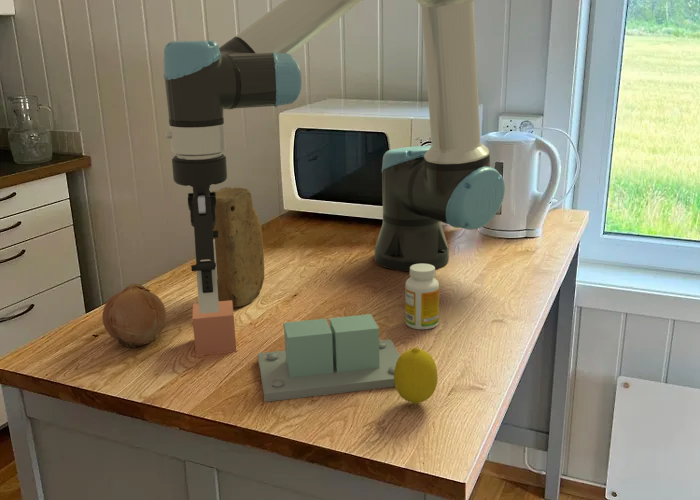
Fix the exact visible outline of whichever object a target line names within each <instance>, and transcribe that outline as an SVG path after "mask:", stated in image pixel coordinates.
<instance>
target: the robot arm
mask: <svg viewBox="0 0 700 500" xmlns="http://www.w3.org/2000/svg"><path fill="white" fill-rule="evenodd" d="M363 1H364V0H283V1H281V3H279V4H277V5H276V6H275V7H274V8H272V9H271V10H270V11H268V12H267V13H265V14H264V15H263V16H261V17H260V18H258V19H257V20H256V21H254V22H253V23H251V24H250V25H249V26H247V27H246V28H245V29H243V30H241V32H239V33H238V34H236V35H235V36H234V37H232V38H231V39H230V40H228V41H226V42H225V43H224V44H222V45H221V46H220V45H219V43H218V42H217V41H214V40H173V41H170V42H168V43H166V44H165V46H164V49H163V80H164V85H165V93H166V102H167V103H166V105H167V113H168V124H169V130H170V131H166V132H165V134H164V135H165V138H166V139H171V141H170V149H171V152H172V154H174V157H173V156H172V158H171V164H172V165H171V166H172V176H173V181H174V183H176V184H177V185H179V186H185V187H187V186H190V187H191V188H192V192H189V193H187V207H188V210H189V213H190V215H189V216H190V224H191V226H192V227H193V231H194V246H195V247H194V248H195V263H196V264H192V265H190V267H191V269H190V270H191V272H195V273H196V281H197V282H196V285H197V293H198V294H197V295H198V303H199V311H200V314H201V313H213V312H219V302H218V287H217V265H216V250H215V239H213V238H218V231H213V229H214V225H215V224H216V219H215V209H216V194H215V192H212V191H211V186H212V185H219V184H222V183H224V182H225V181H226V180H227V179H228V167H227V156H225V154H223V153H224V152H225V151H226V150H227V144H226V131H225V130H226V129H225V120H224V119H225V118H224V111H225V110H233V109H248V108H261V107H274V108H277V107H279V106H286V105H291V104H293V103H294V102H296V101H297V100H298V98H299V97H300V95H301V90H302V71H301V69H300V68H301V67H300V66H299V63H298V61H297V59H296V58H295V57H294V56H293V54H294V53H296V52H297V51H298V50H299V49H300V48H302V47H303V46H305V45H306V44H307V43H308V42H309V41H311V40H312V39H314V38H315V37H316V36H317V35H319V34H320V33H322V32H323V31H324V30H326V29H327V28H328V27H330V26H331V25H332V24H334V23H335V22H336V21H338V20H339V19H340V18H342V17H343V16H345V15H346V14H347V13H348V12H349V11H351V10H352V9H354V8H355V7H356V6H358V5H359V4H360V3H361V2H363ZM415 1H416V2H417V3H419V5H420V7H421V17H422V30H423V31H422V32H423V44H424V46H423V47H424V58H425V72H426V73H425V74H426V84H427V98H428V101H427V102H428V111H429V113H428V114H429V125H430V127H429V128H430V140H431V141H430V142H431V145H419V146H418V145H417V146H407V147H406V146H405V147H398V148H393V149H389V150H387V151H385V153H384V154H383V157H382V166H381V171H380V172H381V176H382V177H381V179H382V181H381V182H382V184H381V185H382V189H381V190H382V225H381V227H380V230H379V234H378V237H377V240H376V243H375V247H374V261H375V263H376V264H377V265H379V266H381V267H383V268H386V269H389V270H396V271H403V272H410V266H412V265H414V264H421V263H423V264H430V265H433V266H434V267H435V269H438V268H441V267H443V266H445V265H446V264H448V262H449V261H450V259H449V258H450V256H449V255H450V249H449V246H448V243H447V239H446V236H445V232H444V229H443V226H442V223H443V224H445V225H446V224H447V225H449V226H451V227H453V228H456V229H463V230H469V231H470V230H471V231H473V230H477V229H481V228H482V227H484V226H486V225H487V224H489V223H490V222H491V221H492V220H493V219H494V218H495V216H496V214H497V213H498V212H499V211H500V209H501V206H502V204H503V201H504V198H505V193H506V186H505V185H506V184H505V180H504V178H503V176H502V174H500V173H499V170H497V169H496V168H493V167H492V166H491V157H490V149H489V148H488V147H487V146H486V145H485V144H483V143H482V141H481V127H480V126H481V125H480V123H481V122H480V105H479V104H480V103H479V89H478V87H479V86H478V85H479V84H478V64H477V62H478V61H477V47H476V46H477V44H476V42H477V40H476V23H475V21H476V20H475V2H474V1H475V0H415Z"/></svg>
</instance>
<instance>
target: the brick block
mask: <svg viewBox="0 0 700 500" xmlns="http://www.w3.org/2000/svg"><path fill="white" fill-rule="evenodd" d="M234 317H235V316H234V308H233V304H232V300H230V301H219V312H213V313H201V314H200V311H199V302H196V303H192V328H193V337H194V338H193V339H194V349H195V350H194V351H195V356H203V355H205V356H206V355H213V354H214V355H215V354H223V353H233V352H237V342H236V329H235V318H234Z"/></svg>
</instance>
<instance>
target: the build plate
mask: <svg viewBox="0 0 700 500" xmlns="http://www.w3.org/2000/svg"><path fill="white" fill-rule="evenodd" d="M283 332H284V333H283V334H284V335H283V336H284V349H285V350H276V351H275V350H274V351H268V352H267V351H266V352H258V353H257V360H258V361H257V362H258V368H259V374H260V381H261V386H262V392H263V400H264V403H265V402H266V403H268V402H275V401H283V400H292V399H301V398H310V397H318V396H326V395H335V394H342V393H351V392H359V391H369V390H370V391H371V390H378V389H384V388H385V389H386V388H393V387H395V382H394V370H395V366H396V363H397V360H398V358H399V357H400V356H401V354H400V352H399V351H398V350H397V348H396V346H395V344H394V343H393V341H392V340H391V338H390V339H380V327H379V326H378V324H377V322H376V320H375V318H374V317H373V315H372V313H368V314H356V315H348V316H338V317H329V323H328V320H327V318H317V319H307V320H306V319H305V320H299V321H298V320H295V321H288V322H287V321H286V322H283ZM395 388H396V387H395Z"/></svg>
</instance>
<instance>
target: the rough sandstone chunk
mask: <svg viewBox="0 0 700 500" xmlns="http://www.w3.org/2000/svg"><path fill="white" fill-rule="evenodd" d="M211 192H215V194H216V209H215V219H216V224H215V225H214V229H213V231H218V238H213V239H215V250H216V265H217V287H218V302H219V301H230V300H232V304H233V309H234V308H240V307H244V306H247V305H249V304H250V303H252V302H254V300H255V299H256V298H257V297H258V296H259V295H260V293H261V290H262V288H263V285H264V280H265V258H264V257H265V255H264V241H263V238H264V237H263V232H262V231H263V230H262V225H261V223H260V222H261V221H260V218H259V216H258V214H257V211H256V209H255V207H254V204H253V198H252V192H251V190H250V189H248V188H245V187H227V186H226V187H223V188H220V189H218V190H212V191H211Z"/></svg>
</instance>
